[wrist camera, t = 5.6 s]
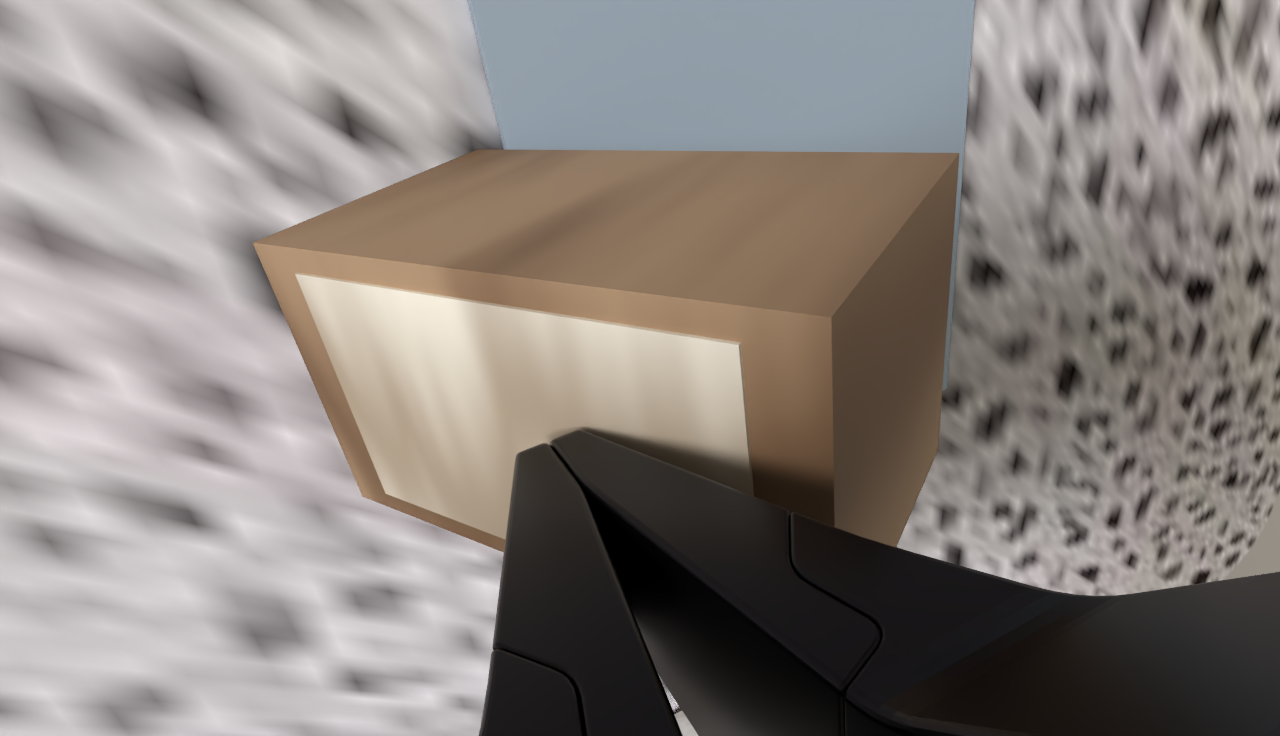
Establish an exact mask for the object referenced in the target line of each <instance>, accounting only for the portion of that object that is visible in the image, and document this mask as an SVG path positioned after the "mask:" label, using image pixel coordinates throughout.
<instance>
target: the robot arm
mask: <svg viewBox="0 0 1280 736" xmlns="http://www.w3.org/2000/svg"><path fill="white" fill-rule="evenodd" d="M493 650H494V651H493V652H492V654H491V661H490V669H489V678H488V685H487V691H486V697H485V703H484V710H483V716H482V722H481V728H480V732H479V736H683V735H682V733H681V730H680V728H679V725H678V723H677V720H676V718H675V715H674V713H673V710H672V708H671V705H670V703H669V700H668V698H667V695H666V693H665V690H664V688H663V685H662V683H661V680H660V678H659V676H660V677H661V679H662V680H663V682H664V684H665V685H666V687H667V688H668V690H669V691H670V693H671V694H672V696H673V697H674V699H675V700H676V702H677V703H678V705H679V707H680V708H681V710H682V711H683V713H684V714H685V716H686V717H687V719H688V720H689V722H690V723H691V725H692V726H693V728H694V730H695V731H696V733H697V734H698V736H1280V572H1275V573H1269V574H1262V575H1255V576H1249V577H1242V578H1236V579H1229V580H1222V581H1215V582H1208V583H1201V584H1195V585H1188V586H1181V587H1175V588H1168V589H1161V590H1154V591H1148V592H1141V593H1134V594H1126V595H1117V596H1087V595H1074V594H1068V593H1062V592H1056V591H1051V590H1046V589H1042V588H1038V587H1034V586H1030V585H1027V584H1023V583H1019V582H1016V581H1012V580H1009V579H1005V578H1002V577H998V576H995V575H991V574H988V573H984V572H980V571H977V570H973V569H970V568H966V567H963V566H959V565H956V564H952V563H949V562H945V561H941V560H938V559H934V558H931V557H927V556H924V555H920V554H917V553H913V552H910V551H906V550H903V549H900V548H897V547H893V546H890V545H887V544H884V543H880V542H877V541H874V540H870V539H867V538H864V537H861V536H858V535H855V534H853V533H850V532H847V531H844V530H841V529H839V528H836V527H833V526H830V525H827V524H825V523H822V522H819V521H817V520H814V519H811V518H809V517H806V516H804V515H801V514H798V513H796V512H793V513H791V514H790V512H789V510H787V509H785V508H782V507H780V506H777V505H774V504H772V503H769V502H767V501H764V500H762V499H759V498H756V497H754V496H751V495H749V494H746V493H743V492H741V491H738V490H736V489H733V488H730V487H728V486H725V485H723V484H720V483H718V482H715V481H712V480H710V479H707V478H705V477H702V476H699V475H697V474H694V473H692V472H689V471H686V470H684V469H681V468H679V467H676V466H674V465H671V464H668V463H666V462H663V461H661V460H658V459H655V458H653V457H650V456H648V455H645V454H642V453H640V452H637V451H635V450H632V449H630V448H627V447H624V446H622V445H619V444H617V443H614V442H611V441H609V440H606V439H604V438H601V437H599V436H596V435H593V434H591V433H588V432H586V431H583V430H575V431H573V432H570V433H568V434H565V435H562V436H560V437H557V438H555V439H553V440H552V441H551V442H550V445H549V444H547V443H542V444H539V445H537V446H534V447H531V448H529V449H526V450H524V451H521V452H519V453H518V454H517V455H516V458H515V465H514V473H513V482H512V490H511V498H510V507H509V515H508V523H507V532H506V540H505V548H504V556H503V565H502V573H501V581H500V590H499V598H498V606H497V615H496V623H495V631H494V640H493ZM658 674H659V675H658Z"/></svg>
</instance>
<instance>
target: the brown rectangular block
mask: <svg viewBox="0 0 1280 736" xmlns="http://www.w3.org/2000/svg"><path fill="white" fill-rule="evenodd" d="M959 154H960V153H906V152H769V151H633V150H497V149H477V150H475V151H473V152H470V153H468V154H465V155H463V156H460V157H458V158H456V159H453V160H451V161H448V162H446V163H444V164H441V165H439V166H436V167H434V168H432V169H429V170H427V171H424V172H422V173H420V174H417V175H415V176H412V177H410V178H408V179H405V180H403V181H400V182H398V183H395V184H393V185H391V186H388V187H386V188H383V189H381V190H379V191H376V192H374V193H371V194H369V195H367V196H364V197H362V198H359V199H357V200H355V201H352V202H350V203H347V204H345V205H343V206H340V207H338V208H335V209H333V210H330V211H328V212H326V213H323V214H321V215H318V216H316V217H314V218H311V219H309V220H306V221H304V222H302V223H299V224H297V225H294V226H292V227H290V228H287V229H285V230H282V231H280V232H278V233H275V234H273V235H270V236H268V237H265V238H263V239H261V240H258V241H256V242H253V244H254V247H255V249H256V251H257V254H258V256H259V258H260V261H261V263H262V265H263V268H264V270H265V272H266V274H267V277H268V279H269V281H270V284H271V286H272V288H273V291H274V293H275V295H276V298H277V300H278V302H279V304H280V307H281V309H282V311H283V314H284V316H285V318H286V321H287V323H288V325H289V327H290V330H291V332H292V334H293V337H294V339H295V341H296V344H297V346H298V348H299V351H300V353H301V355H302V357H303V360H304V362H305V364H306V367H307V369H308V371H309V374H310V376H311V378H312V381H313V383H314V385H315V387H316V390H317V392H318V394H319V397H320V399H321V401H322V404H323V406H324V408H325V411H326V413H327V415H328V417H329V420H330V422H331V424H332V427H333V429H334V431H335V434H336V436H337V438H338V441H339V443H340V445H341V447H342V450H343V452H344V454H345V457H346V459H347V461H348V464H349V466H350V468H351V471H352V473H353V475H354V477H355V480H356V482H357V484H358V487H359V489H360V491H361V494H362V496H363V497H366V498H368V499H371V500H373V501H376V502H378V503H381V504H383V505H386V506H388V507H391V508H393V509H396V510H398V511H401V512H403V513H406V514H408V515H411V516H413V517H416V518H419V519H421V520H424V521H426V522H429V523H431V524H434V525H436V526H439V527H441V528H444V529H446V530H449V531H451V532H454V533H456V534H459V535H461V536H464V537H466V538H469V539H471V540H474V541H476V542H479V543H481V544H484V545H486V546H489V547H492V548H494V549H497V550H499V551H502V552H504V548H505V540H506V532H507V523H508V515H509V507H510V498H511V490H512V482H513V473H514V465H515V458H516V455H517V454H518V453H519V452H521V451H524V450H526V449H529V448H531V447H534V446H537V445H539V444H542V443H547V444H549V445H550V442H551V441H552V440H553V439H555V438H557V437H560V436H562V435H565V434H568V433H570V432H573V431H575V430H583V431H586V432H588V433H591V434H593V435H596V436H599V437H601V438H604V439H606V440H609V441H611V442H614V443H617V444H619V445H622V446H624V447H627V448H630V449H632V450H635V451H637V452H640V453H642V454H645V455H648V456H650V457H653V458H655V459H658V460H661V461H663V462H666V463H668V464H671V465H674V466H676V467H679V468H681V469H684V470H686V471H689V472H692V473H694V474H697V475H699V476H702V477H705V478H707V479H710V480H712V481H715V482H718V483H720V484H723V485H725V486H728V487H730V488H733V489H736V490H738V491H741V492H743V493H746V494H749V495H751V496H754V497H756V498H759V499H762V500H764V501H767V502H769V503H772V504H774V505H777V506H780V507H782V508H785V509H787V510H789V512H790V514H791V513H793V512H796V513H798V514H801V515H804V516H806V517H809V518H811V519H814V520H817V521H819V522H822V523H825V524H827V525H830V526H833V527H836V528H839V529H841V530H844V531H847V532H850V533H853V534H855V535H858V536H861V537H864V538H867V539H870V540H874V541H877V542H880V543H884V544H887V545H890V546H893V547H896V546H897V544H898V542H899V539H900V537H901V535H902V532H903V530H904V528H905V525H906V523H907V521H908V518H909V516H910V514H911V511H912V509H913V507H914V504H915V502H916V500H917V497H918V495H919V493H920V490H921V488H922V486H923V483H924V481H925V479H926V476H927V474H928V472H929V469H930V467H931V465H932V462H933V460H934V458H935V455H936V453H937V451H938V441H939V427H940V414H941V400H942V386H943V373H944V359H945V345H946V332H947V318H948V304H949V291H950V277H951V263H952V250H953V236H954V223H955V209H956V195H957V182H958V168H959Z"/></svg>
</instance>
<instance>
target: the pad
mask: <svg viewBox="0 0 1280 736" xmlns="http://www.w3.org/2000/svg"><path fill="white" fill-rule="evenodd" d="M468 4H469V8H470V12H471V16H472V20H473V24H474V29H475V33H476V37H477V41H478V45H479V49H480V53H481V57H482V62H483V66H484V70H485V74H486V78H487V82H488V86H489V90H490V95H491V99H492V103H493V107H494V111H495V115H496V119H497V123H498V128H499V132H500V136H501V140H502V144H503V148H504V150H633V151H769V152H906V153H960V154H959V168H958V182H957V195H956V209H955V223H954V236H953V250H952V263H951V277H950V291H949V304H948V318H947V332H946V345H945V359H944V373H943V386H942V391H943V390H945V389H947V382H948V368H949V354H950V340H951V326H952V312H953V299H954V285H955V271H956V257H957V243H958V229H959V215H960V201H961V187H962V173H963V159H964V145H965V131H966V117H967V103H968V89H969V75H970V61H971V47H972V33H973V19H974V5H975V0H468Z"/></svg>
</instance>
